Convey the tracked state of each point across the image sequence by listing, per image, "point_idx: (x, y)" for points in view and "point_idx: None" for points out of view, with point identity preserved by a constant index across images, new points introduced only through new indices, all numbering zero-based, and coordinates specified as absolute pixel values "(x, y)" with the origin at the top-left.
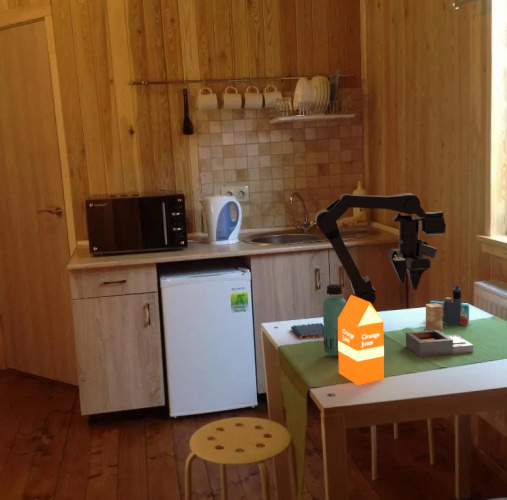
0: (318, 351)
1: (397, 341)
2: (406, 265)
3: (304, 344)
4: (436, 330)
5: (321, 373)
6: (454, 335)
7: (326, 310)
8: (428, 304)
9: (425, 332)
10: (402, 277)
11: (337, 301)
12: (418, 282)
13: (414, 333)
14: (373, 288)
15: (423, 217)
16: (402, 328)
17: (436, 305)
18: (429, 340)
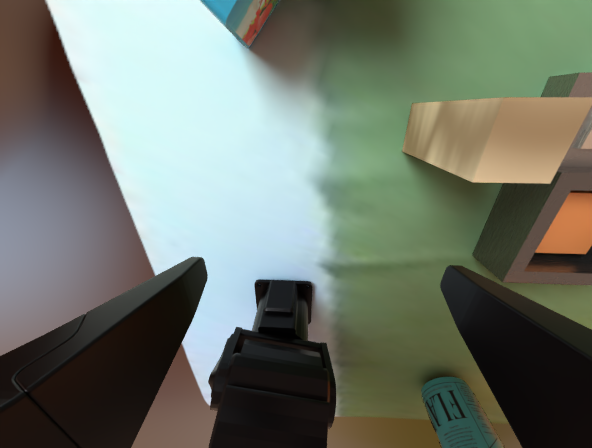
0: (395, 388)
1: (423, 258)
2: (1, 417)
3: (348, 394)
4: (566, 181)
5: (495, 407)
6: (582, 90)
7: None
8: (487, 169)
9: (547, 227)
10: (184, 303)
11: None
12: (539, 311)
13: (527, 262)
14: (300, 415)
15: None
16: (320, 200)
17: (545, 129)
18: (558, 216)
